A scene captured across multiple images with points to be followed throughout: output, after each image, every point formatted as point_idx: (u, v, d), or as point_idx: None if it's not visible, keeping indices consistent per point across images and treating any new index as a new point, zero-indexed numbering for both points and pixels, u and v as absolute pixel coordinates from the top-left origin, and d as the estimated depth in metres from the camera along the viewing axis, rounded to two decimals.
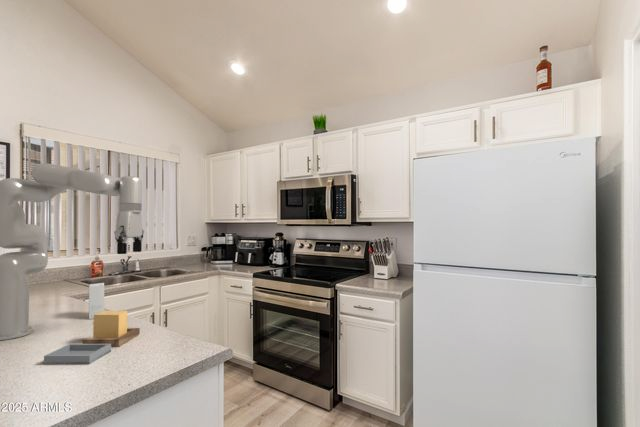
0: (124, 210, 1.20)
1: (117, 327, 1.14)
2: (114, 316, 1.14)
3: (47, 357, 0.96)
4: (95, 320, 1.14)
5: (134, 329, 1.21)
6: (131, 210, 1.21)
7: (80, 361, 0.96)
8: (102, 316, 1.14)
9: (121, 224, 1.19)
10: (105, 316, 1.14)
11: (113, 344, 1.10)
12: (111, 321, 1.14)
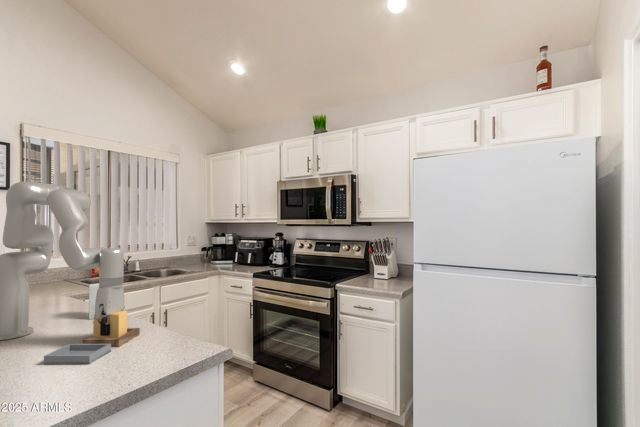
0: (104, 286, 1.13)
1: (117, 327, 1.14)
2: (114, 316, 1.14)
3: (47, 357, 0.96)
4: (95, 320, 1.14)
5: (134, 329, 1.21)
6: (111, 286, 1.14)
7: (80, 361, 0.96)
8: None
9: (101, 303, 1.12)
10: None
11: (113, 344, 1.10)
12: (111, 321, 1.14)
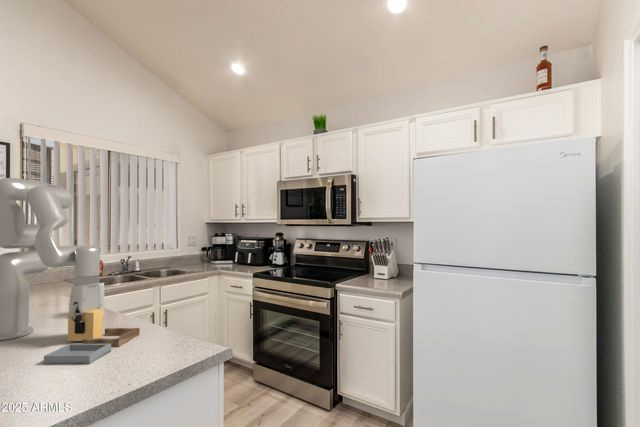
0: (79, 284, 1.13)
1: (92, 325, 1.14)
2: (89, 314, 1.14)
3: (47, 357, 0.96)
4: (70, 318, 1.14)
5: (134, 329, 1.21)
6: (86, 284, 1.14)
7: (80, 361, 0.96)
8: None
9: (75, 301, 1.12)
10: None
11: (113, 344, 1.10)
12: (86, 319, 1.14)
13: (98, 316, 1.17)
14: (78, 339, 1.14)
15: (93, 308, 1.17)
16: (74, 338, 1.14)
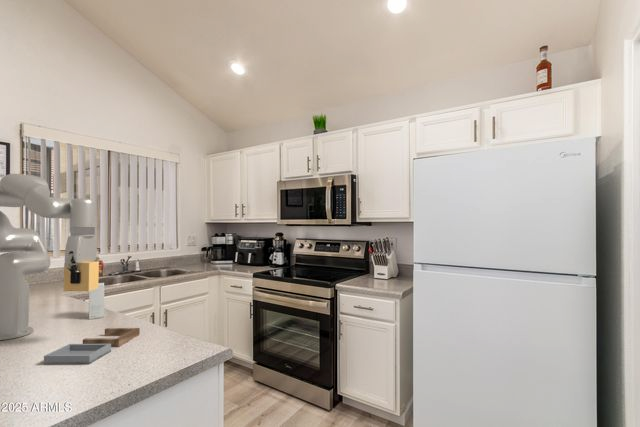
0: (74, 235, 1.14)
1: (88, 276, 1.14)
2: (84, 264, 1.15)
3: (47, 357, 0.96)
4: (66, 268, 1.15)
5: (134, 329, 1.21)
6: (82, 234, 1.14)
7: (80, 361, 0.96)
8: None
9: (70, 250, 1.12)
10: None
11: (113, 344, 1.10)
12: (81, 269, 1.15)
13: (94, 267, 1.17)
14: (74, 289, 1.14)
15: (89, 260, 1.18)
16: (70, 288, 1.14)
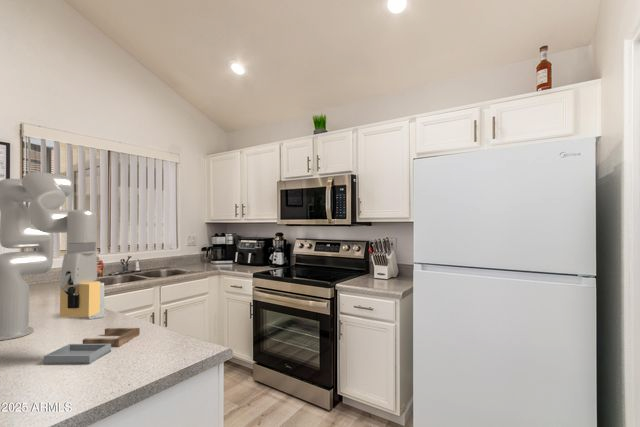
0: (72, 252, 0.99)
1: (88, 299, 0.99)
2: (84, 286, 0.99)
3: (47, 357, 0.96)
4: (62, 290, 0.99)
5: (134, 329, 1.21)
6: (81, 252, 0.99)
7: (80, 361, 0.96)
8: None
9: (67, 270, 0.97)
10: None
11: (113, 344, 1.10)
12: (80, 291, 0.99)
13: (94, 289, 1.02)
14: (72, 315, 0.99)
15: (89, 280, 1.03)
16: (67, 314, 0.99)
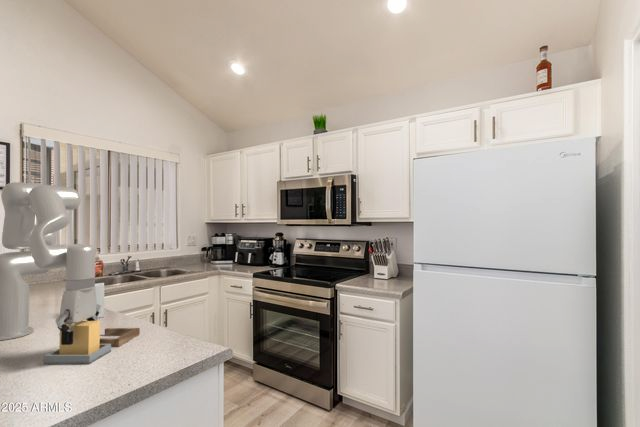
0: (71, 289, 0.98)
1: (87, 340, 0.99)
2: (84, 327, 0.99)
3: (47, 357, 0.96)
4: None
5: (134, 329, 1.21)
6: (80, 289, 0.99)
7: (80, 361, 0.96)
8: None
9: (66, 308, 0.97)
10: (73, 327, 0.99)
11: (113, 344, 1.10)
12: (80, 333, 0.99)
13: (94, 329, 1.02)
14: None
15: (88, 316, 1.02)
16: None
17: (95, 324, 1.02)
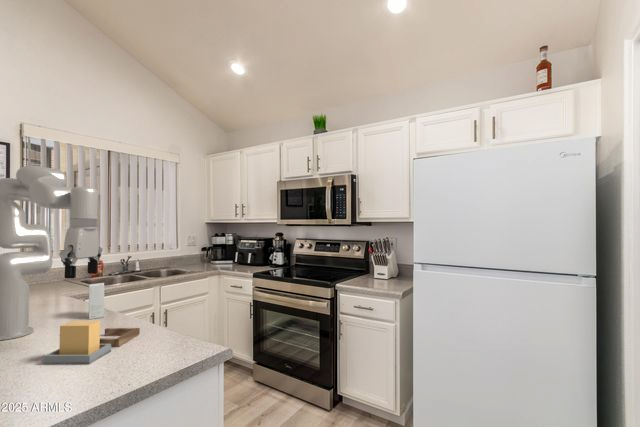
0: (74, 227, 1.03)
1: (87, 340, 0.99)
2: (84, 327, 0.99)
3: (47, 357, 0.96)
4: (62, 332, 0.99)
5: (134, 329, 1.21)
6: (82, 227, 1.04)
7: (80, 361, 0.96)
8: (70, 327, 0.99)
9: (70, 244, 1.02)
10: (73, 327, 0.99)
11: (113, 344, 1.10)
12: (80, 333, 0.99)
13: (94, 329, 1.02)
14: None
15: (90, 255, 1.07)
16: None
17: (95, 324, 1.02)
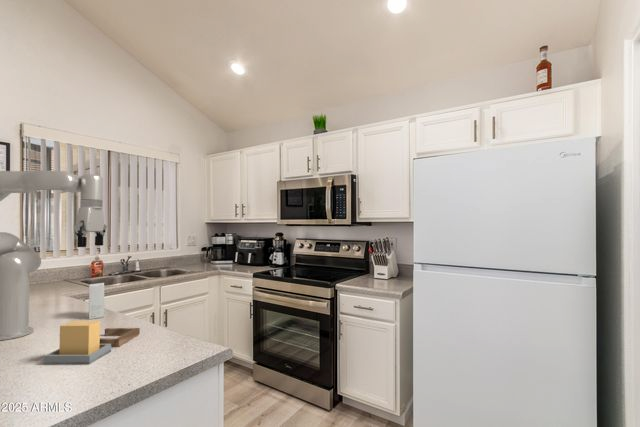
0: (84, 206, 1.28)
1: (87, 340, 0.99)
2: (84, 327, 0.99)
3: (47, 357, 0.96)
4: (62, 332, 0.99)
5: (134, 329, 1.21)
6: (91, 206, 1.29)
7: (80, 361, 0.96)
8: (70, 327, 0.99)
9: (81, 219, 1.27)
10: (73, 327, 0.99)
11: (113, 344, 1.10)
12: (80, 333, 0.99)
13: (94, 329, 1.02)
14: None
15: (97, 229, 1.33)
16: None
17: (95, 324, 1.02)
